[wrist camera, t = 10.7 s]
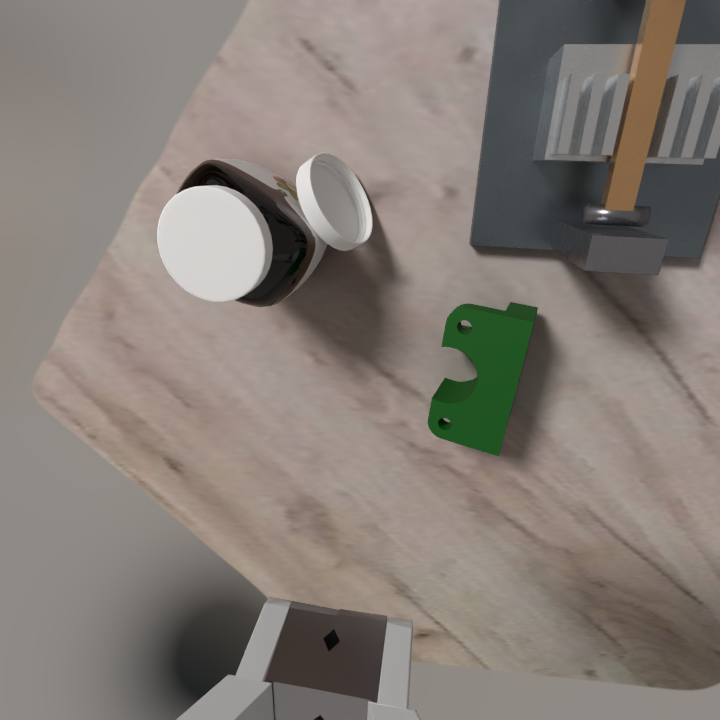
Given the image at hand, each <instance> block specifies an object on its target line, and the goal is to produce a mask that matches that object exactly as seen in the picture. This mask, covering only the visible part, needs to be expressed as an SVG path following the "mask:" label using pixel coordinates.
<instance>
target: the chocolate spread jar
mask: <svg viewBox="0 0 720 720" xmlns="http://www.w3.org/2000/svg"><path fill="white" fill-rule="evenodd" d="M372 227H373V219H372V212H371V208H370V204H369V201H368V198H367V196H366V193H365V191H364V189H363V187H362V185H361V184H360V182H359V180H358V179H357V177H356V176H355V174H354V173H353V172H352V170H351V169H350V168H349V167H348V166H347V165H346V164H345V163H344V162H343V161H342V160H340V159H339V158H337V157H336V156H334V155H332V154H329V153H323V152H322V153H319V154H317V155H315V156H314V157H312V158H311V159H310V160H308V161H307V162H305V163H304V164H303V165H302V166H301V167H300V168H299V170H298V173H297V177H296V186H295V185H294V184H292V183H291V182H289V181H288V180H286V179H285V178H283V177H281V176H279V175H278V174H276V173H274V172H272V171H270V170H268V169H266V168H264V167H261V166H259V165H256V164H254V163H251V162H248V161H243V160H237V159H222V158H220V159H211V160H207V161H205V162H203V163H201V164H200V165H199V166H197V167H196V168H195V169H194V170H193V171H192V172H191V173H190V174H189V175H188V176H187V178H186V179H185V180H184V182H183V183H182V185H181V186H180V188H179V190H178V192H177V194H176V195H175V196H174V197H173V198H172V199H171V200H170V201H169V202H168V203H167V205H166V206H165V208H164V209H163V211H162V214H161V216H160V219H159V223H158V230H157V241H158V247H159V252H160V255H161V258H162V261H163V263H164V265H165V267H166V269H167V270H168V272H169V274H170V275H171V276H172V278H173V279H174V280H175V281H176V282H177V284H179V285H180V286H181V287H182V288H183V289H184V290H185V291H187V292H189V293H190V294H192V295H194V296H195V297H198V298H200V299H203V300H205V301H211V302H229V301H233V300H235V301H237V302H240V303H243V304H247V305H252V306H257V307H266V306H272V305H274V304H277V303H279V302H281V301H283V300H284V299H286V298H287V297H289V296H290V295H291V294H292V293H293V292H294V291H296V290H297V289H298V288H299V287H300V286H301V285H302V284H303V283H304V282H305V281H306V280H307V279H308V278H309V276H310V275H311V274H312V273H313V271H314V270H315V268H316V267H317V265H318V264H319V262H320V260H321V258H322V256H323V254H324V252H325V250H326V247H327V244H328V245H330V246H331V247H333V248H335V249H338V250H341V251H348V250H351V249H353V248H355V247H357V246H359V245H361V244H363V243H365V242H366V241H367V240H368V239H369V238H370V236H371V233H372Z"/></svg>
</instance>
